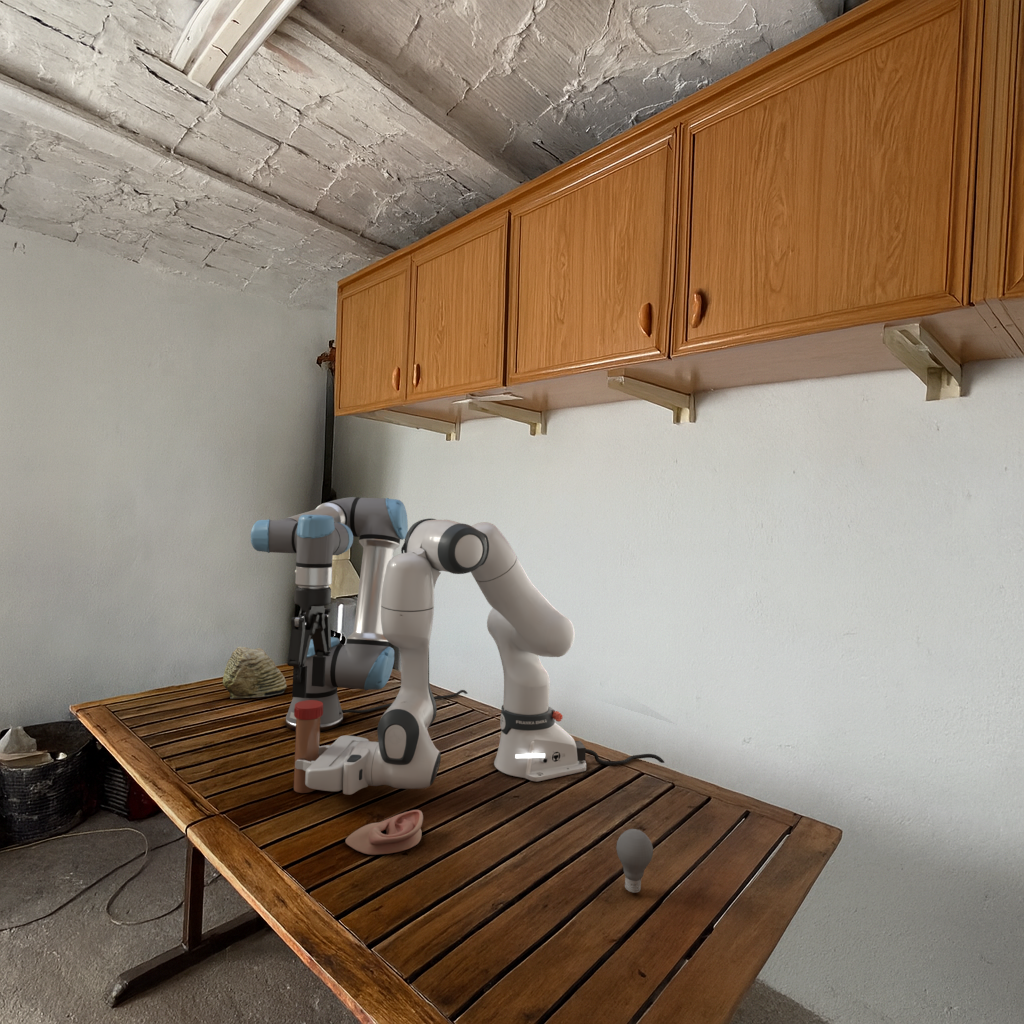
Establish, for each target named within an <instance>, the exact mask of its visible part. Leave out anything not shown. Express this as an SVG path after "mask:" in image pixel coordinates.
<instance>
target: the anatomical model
mask: <svg viewBox="0 0 1024 1024" xmlns="http://www.w3.org/2000/svg"><path fill="white" fill-rule="evenodd" d="M423 814H424V813H423V812H422V810H420V809H411V810H409V811H404V812H401V813H398V814H396V815H393V816H391V817H388V818H387V819H385V820H382V821H380V822H371V823H368V824H365V825H363V826H361V827H359V828H357V829H356V830H355V831H353V832H352V833H351V834H349V835H348V836H347V837H346V838H345V842H344V843H345V844H346V845H347V846H349V847H350V848H351V849H353V850H355V851H357V852H360V853H362V854H365V855H368V856H369V855H370V856H376V855H387V854H393V853H399V852H403V851H406V850H409V849H411V848H413V847H415V846H416V845H418V844H419V843H420V841H421V840H422V835H423V834H422V832H423V831H422V828H421V827H422V826H423V822H424V815H423Z"/></svg>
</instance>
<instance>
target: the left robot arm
mask: <svg viewBox="0 0 1024 1024" xmlns="http://www.w3.org/2000/svg"><path fill="white" fill-rule="evenodd" d="M408 530H409V523H408V513H407V510H406V506H405V504H404V502H403V501H402V500H400V499H397V498H396V499H395V498H389V497H381V498H380V497H357V496H350V497H342V498H338V499H334V500H330V501H327V502H323V503H321V504H319V505H317V507H316V508H314V509H312V510H309V511H305V512H302V513H298V514H295V515H292V516H289V517H285V518H281V519H270V518H268V519H258V520H257V521H255V522H254V523H253V526H252V527H251V531H250V543H251V547H252V548H253V549H254V550H255V551H257V552H263V553H268V554H270V553H279V554H280V553H281V554H296V558H295V559H296V560H295V561H296V562H295V570H294V574H295V580H294V581H295V585H296V587H295V588H294V597H293V598H294V599H293V600H294V604H295V605H297V606H299V607H300V610H299V613H298V616H292V617H291V619H290V623H291V624H290V625H291V629H290V638H289V644H288V645H289V646H288V654H287V662H286V663H287V666H288V667H292V668H293V669H292V690H291V691H292V692H291V697H292V699H291V702H290V704H289V708H288V711H287V713H286V715H285V726H286V728H287V729H289V730H291V731H294V732H296V718H295V716H294V708H295V704H296V703H298V702H301V701H306V700H317V701H321V702H322V703H323V715H322V716H321V720H320V732H325V731H329V730H332V729H335V728H337V727H339V726H340V725H342V723H343V722H344V713H347V714H349V713H351V714H353V713H354V714H365V713H369V712H374V711H378V710H380V709H385V708H389V707H390V706H391V704H392V703H393V702H391V703H386V704H382V705H378V706H375V707H371V708H366V709H342V706H341V702H340V699H339V695H338V688H340V689H354V690H364V691H370V690H371V691H372V690H375V691H376V690H377V691H378V690H382V689H383V688H384V687H385V686H386V685H387V684H388V682H389V680H390V677H391V675H392V672H393V668H394V663H395V650H394V648H393V647H391V646H390V642H388V641H387V639H386V638H385V637H384V635H383V631H382V625H381V598H382V588H383V582H384V577H385V572H386V568H387V564H388V562H389V561H390V560H391V559H392V558H393V557H394V552H395V550H397V549H398V548H399V547H400V544H401V541H402V540H405V537H406V534H407V532H408ZM354 537H355V538H359V539H358V543H359V544H360V545H361V547H362V558H361V566H360V575H359V584H358V590H357V591H358V592H357V599H356V600H357V601H356V606H355V607H356V609H355V616H354V624H353V631H352V633H351V634H350V635H348V636H347V638H346V643H345V644H341V641H340V639H339V638H338V637H334V636H332V635H331V634H332V633H331V630H332V629H331V617H332V616H331V615H332V608H328V607H327V606H329V605H330V604H331V602H332V588H331V587H330V586H331V585H332V584H333V559H334V558H333V557H334V556H340V555H342V554H345V553H346V552H348V551H349V550H350V549H351V548H352V545H353V543H354ZM326 607H327V608H326ZM462 693H464V695H467V694H468V692H467V690H465V689H460V690H458V691H457V692H455V693H451V694H447V695H437V696H434V699H435V700H441V699H449V698H454V697H457V696H459V695H460V694H462Z"/></svg>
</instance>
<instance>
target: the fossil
mask: <svg viewBox="0 0 1024 1024" xmlns="http://www.w3.org/2000/svg"><path fill="white" fill-rule="evenodd" d="M222 676H223V677H222V685H223V687H224V688H225V690H226V691H228V693H229V698H230V699H250V698H264V697H271V696H275V695H281V694H284V693H285V691H286V689H287V687H288V686H287V680H286V678H285V676H284V674H283V673H282V672H281V669H279V668H278V667H277V665H276V663H275V662H274V660H273V659H272V658H271V657H270V656H269V655H268V654H267V653H266V652H265V650H264V649H263V648H260V647H258V648H251V647H247V646H246V647H245V646H238V647H237V648H236V649H235V650H233V651H232V653H231V656H230V657H229V659H228V660H227V663H226V666H225V668H224V671H223V675H222Z"/></svg>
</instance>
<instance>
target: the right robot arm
mask: <svg viewBox="0 0 1024 1024" xmlns="http://www.w3.org/2000/svg"><path fill="white" fill-rule="evenodd" d="M441 572H447V573H450V574H453V575H464V574H469V573H471V575H472V577H473V579H474V580H475V583H476V584H477V586H478V587H479V589H480V591H481V593H482V594H483V596H484V598H485V600H486V602H487V603H488V604H489V606H490V607H491V609H490V611H489V613H488V616H487V620H486V628H487V631H488V633H489V634H490V636H491V637H492V639H493V641H494V643H495V645H496V647H497V650H498V655H499V658H500V661H501V666H502V673H503V701H502V702H503V704H502V705H501V710H500V720H499V724H500V726H499V727H500V737H499V745H498V748H497V753H496V756H495V758H494V761H493V766H494V768H495V769H497V770H498V771H499V772H501V773H502V774H506V775H508V776H513V777H517V778H521V779H522V778H523V779H526V780H529V781H531V782H537V783H538V782H541V781H546V780H551V779H555V778H560V777H565V776H570V775H574V774H578V773H583V772H586V771H587V762H586V754H590V755H592V756H593V758H594V760H595V762H596V763H598V764H600V765H604V766H619V765H620V766H622V765H625V764H628V763H630V762H631V761H633V760H640V759H654V760H657V761H658V762H659V763H661V764H664V763H665V760H664V759H663V758H662V757H661V756H659V755H657V754H653V753H642V754H633V755H630V756H628V757H627V758H625V759H622V760H613V761H606V760H602V759H601V758H599V754H598V753H597V752H596V751H594V750H592V749H588V748H587V747H586V746H585V745H584V744H583V742H582V741H581V740H575V739H574V737H573V736H572V735H571V734H570V733H569V732H568V731H566V730H565V729H564V728H563V727H562V726H560V725H559V724H558V723H557V722H562V720H563V718H564V715H563V714H562V713H561V712H560V711H558V710H555V709H554V708H553V707H551V706H549V704H550V687H551V685H550V684H551V679H550V675H549V673H548V671H547V670H546V668H545V667H544V666H543V664H542V662H541V659H540V657H544V658H560V657H563V656H565V655H566V654H567V653H568V652H569V651H570V650H571V648H572V647H573V645H574V642H575V638H576V636H575V635H576V634H575V631H576V630H575V627H574V624H573V622H572V621H571V620H570V618H569V617H567V616H565V614H563V613H561V612H560V611H559V610H558V609H556V607H554V606H553V604H551V602H550V601H549V600H548V599H547V598H546V597H545V596H544V594H542V592H541V591H540V590H539V589H538V587H536V586H535V584H534V583H533V582H532V580H531V579H530V578H529V576H528V574H527V572H526V571H525V569H524V567H523V564H522V563H521V561H520V560H519V558H518V556H517V554H516V552H515V551H514V548H513V547H512V545H511V544H510V542H509V541H508V540H507V538H506V537H505V535H503V533H502V532H501V531H500V529H499V528H498V527H497V526H496V525H495V524H493V523H491V522H488V521H483V522H477V523H474V524H473V525H470V524H467V523H461V522H458V521H455V520H451V519H436V518H423V519H420V520H417V521H416V522H414V523H413V524H412V525H411V526H410V527H409V528H408V532H407V534H406V537H405V539H404V543H403V545H401V549H400V553H399V554H396V555H393V558H392V559H391V560H390V561H389V562H388V564H387V568H386V572H385V577H384V582H383V588H382V598H381V625H382V631H383V635H384V637H385V638H386V639H387V641H388V642H389V644H391V645H392V646H394V647H397V648H398V650H399V654H400V687H399V691H398V693H397V695H396V697H395V698H394V700H393V702H391V703H392V704H391V706H389V707H387V709H386V710H385V711H384V713H383V714H382V715H381V717H380V719H379V721H378V723H377V729H376V730H377V731H376V733H377V741H372V740H371V741H370V740H369V739H368V738H367V737H362V736H356V735H349V734H346V735H345V734H344V735H340V736H338V737H337V739H335V741H333V743H332V744H326V745H325V744H324V745H321V746H319V758H318V759H317V760H316V761H311V762H310V761H307V760H306V758H299V759H298V760H297V761H296V762H295V761H294V765H295V768H296V769H303V770H304V771H306V775H305V785H306V786H307V787H309V788H311V789H316V790H317V791H324V792H340V791H342V794H343V795H347V796H348V795H350V796H351V795H353V794H355V793H356V792H358V791H360V790H363V789H365V788H368V787H381V786H388V787H391V788H393V789H400V790H422V789H427V788H429V787H431V786H432V784H434V782H435V780H436V778H437V775H438V771H439V769H440V765H441V761H442V760H441V758H442V757H441V751H440V750H439V749H438V748H437V747H436V746H435V744H434V742H433V739H432V738H431V736H430V733H429V730H428V729H429V728H430V727H431V725H432V724H433V723H434V722H435V720H436V717H437V713H438V709H437V707H438V706H437V702H436V699H434V697H435V696H434V694H433V691H432V689H431V684H430V643H431V635H432V630H433V624H434V613H435V587H436V583H437V581H438V578H439V576H440V575H441ZM555 721H556V722H555ZM316 790H315V791H316Z"/></svg>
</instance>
